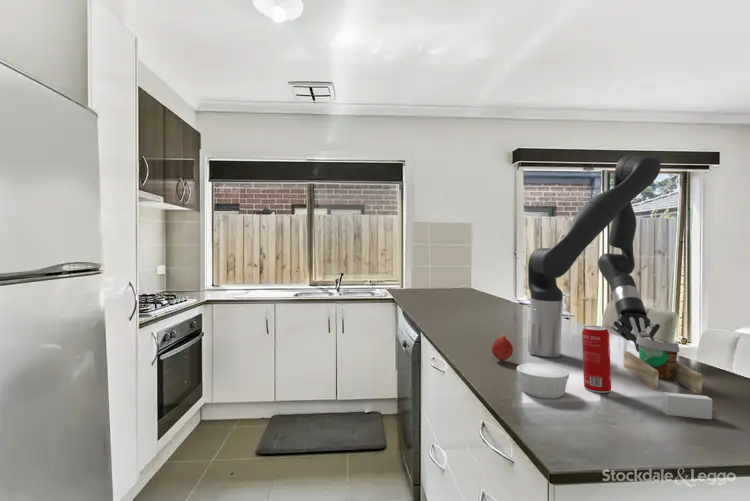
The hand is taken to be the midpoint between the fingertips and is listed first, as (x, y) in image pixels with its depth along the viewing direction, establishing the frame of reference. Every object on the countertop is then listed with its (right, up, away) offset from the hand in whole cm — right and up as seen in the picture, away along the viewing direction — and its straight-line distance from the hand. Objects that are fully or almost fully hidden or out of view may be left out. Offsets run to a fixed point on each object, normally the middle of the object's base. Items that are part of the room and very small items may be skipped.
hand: (643, 352), depth 115 cm
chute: (-2, -5, -9) cm, 11 cm away
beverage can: (-24, -5, -18) cm, 30 cm away
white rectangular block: (-12, -5, -32) cm, 34 cm away
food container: (-2, -5, -6) cm, 8 cm away
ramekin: (-37, -4, -20) cm, 43 cm away
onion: (-39, -4, +3) cm, 40 cm away
